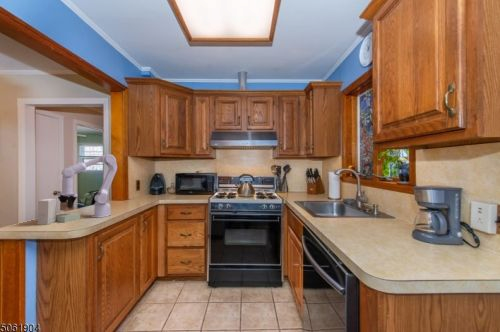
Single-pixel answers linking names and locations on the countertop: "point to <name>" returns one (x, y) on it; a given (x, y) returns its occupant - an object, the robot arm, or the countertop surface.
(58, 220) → the sage block
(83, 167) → the robot arm
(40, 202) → the skincare box
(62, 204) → the walnut cube
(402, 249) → the countertop surface
